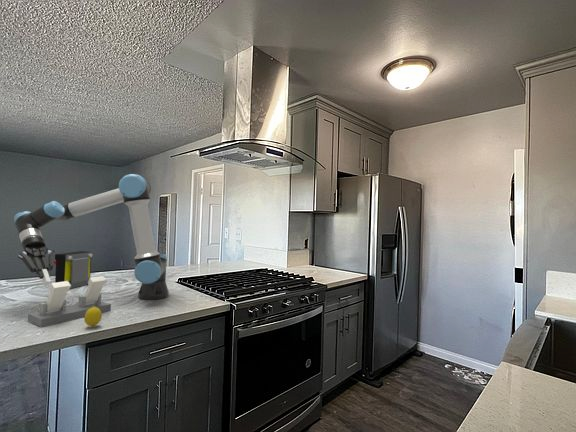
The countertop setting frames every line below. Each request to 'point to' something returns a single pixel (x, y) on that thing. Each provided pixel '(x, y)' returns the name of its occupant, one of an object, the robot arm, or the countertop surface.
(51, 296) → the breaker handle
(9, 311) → the countertop surface
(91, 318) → the lemon
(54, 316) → the block
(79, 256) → the electrical component
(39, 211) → the robot arm
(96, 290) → the lever
